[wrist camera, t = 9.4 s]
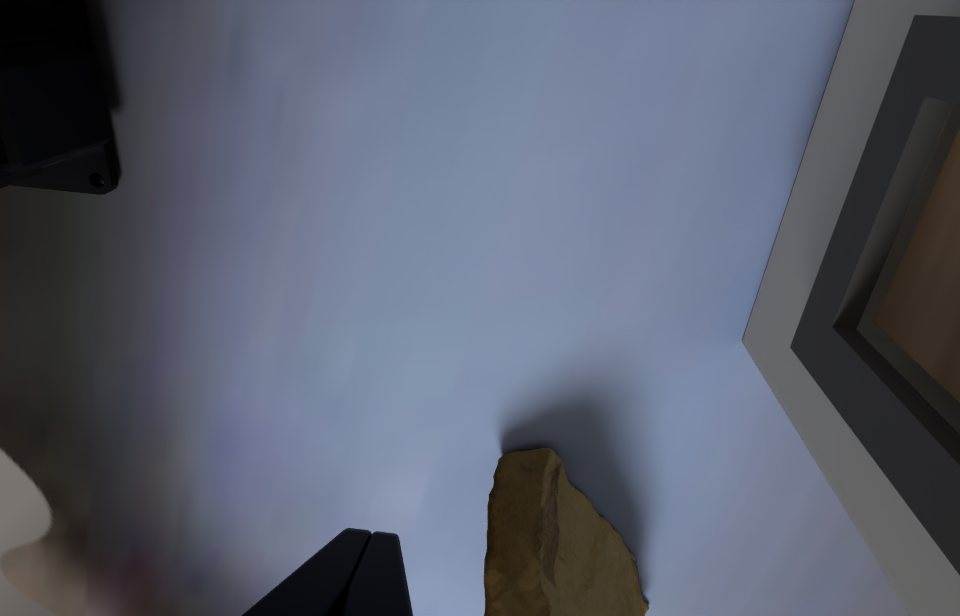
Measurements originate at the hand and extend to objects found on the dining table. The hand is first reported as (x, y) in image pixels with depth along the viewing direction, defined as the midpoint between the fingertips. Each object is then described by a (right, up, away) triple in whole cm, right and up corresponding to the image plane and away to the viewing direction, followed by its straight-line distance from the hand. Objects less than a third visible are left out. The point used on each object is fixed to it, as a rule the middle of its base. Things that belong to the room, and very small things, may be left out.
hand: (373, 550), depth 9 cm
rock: (+6, -6, +18) cm, 20 cm away
